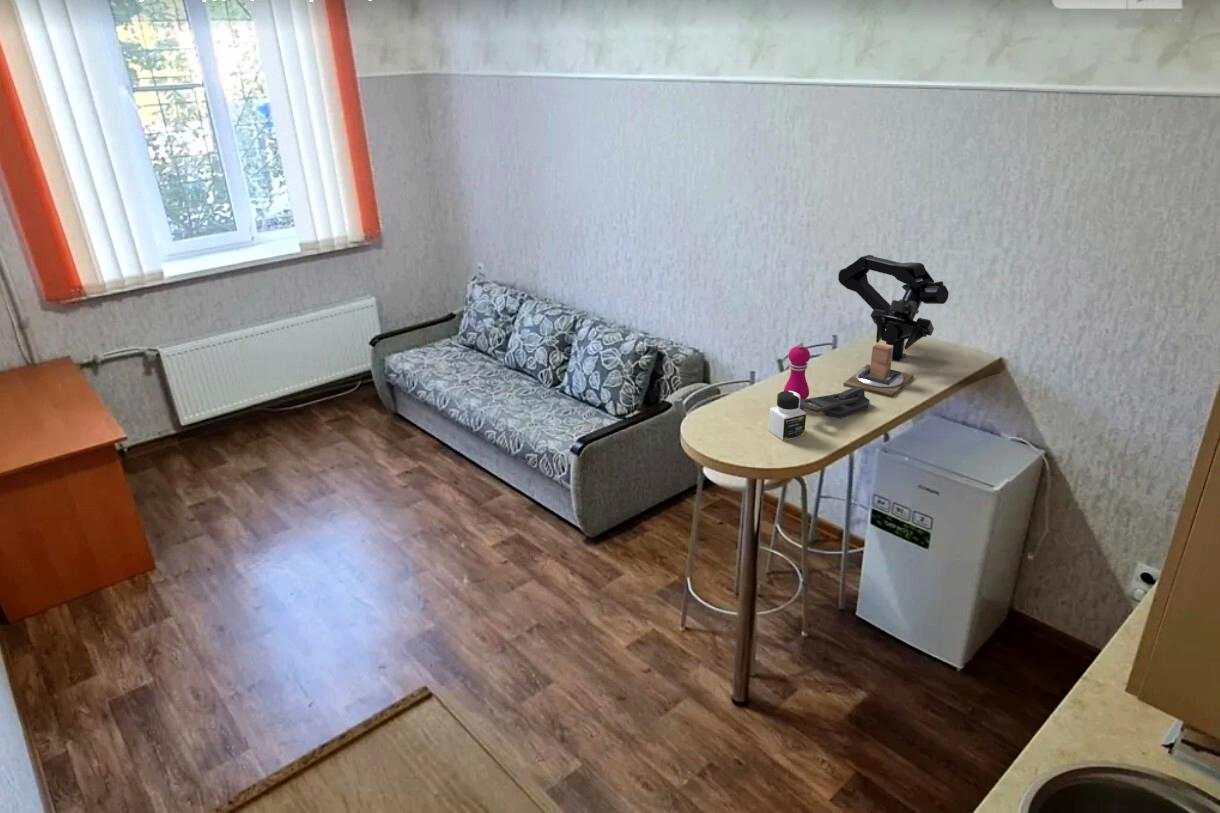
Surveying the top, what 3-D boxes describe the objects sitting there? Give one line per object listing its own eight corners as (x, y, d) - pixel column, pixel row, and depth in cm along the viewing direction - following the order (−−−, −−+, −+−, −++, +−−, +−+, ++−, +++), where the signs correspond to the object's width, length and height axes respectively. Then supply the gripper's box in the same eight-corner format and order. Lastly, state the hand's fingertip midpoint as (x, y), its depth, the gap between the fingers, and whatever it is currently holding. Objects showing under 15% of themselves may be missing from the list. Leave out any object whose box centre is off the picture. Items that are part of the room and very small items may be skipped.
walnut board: (867, 367, 251) (867, 364, 250) (913, 377, 242) (913, 374, 242) (843, 385, 238) (843, 382, 238) (891, 397, 230) (891, 394, 229)
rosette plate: (866, 366, 249) (867, 361, 248) (910, 376, 241) (910, 371, 240) (848, 381, 239) (848, 375, 238) (892, 392, 231) (893, 386, 230)
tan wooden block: (875, 372, 242) (879, 342, 238) (889, 375, 240) (893, 345, 235) (869, 376, 239) (872, 346, 235) (883, 380, 237) (887, 350, 232)
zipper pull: (792, 400, 216) (851, 376, 229) (790, 421, 219) (848, 397, 231) (817, 410, 209) (876, 386, 222) (815, 432, 212) (873, 407, 225)
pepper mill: (791, 398, 232) (796, 335, 223) (812, 405, 227) (818, 341, 218) (777, 406, 227) (782, 342, 219) (799, 413, 223) (804, 348, 214)
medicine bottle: (782, 441, 208) (785, 401, 203) (767, 430, 214) (770, 391, 209) (804, 436, 210) (808, 396, 205) (789, 425, 216) (792, 386, 211)
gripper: (876, 284, 243) (856, 327, 241) (935, 294, 232) (914, 339, 229) (885, 302, 252) (865, 343, 250) (942, 313, 240) (922, 356, 238)
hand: (890, 345), depth 241 cm, fingers open, 9 cm apart
